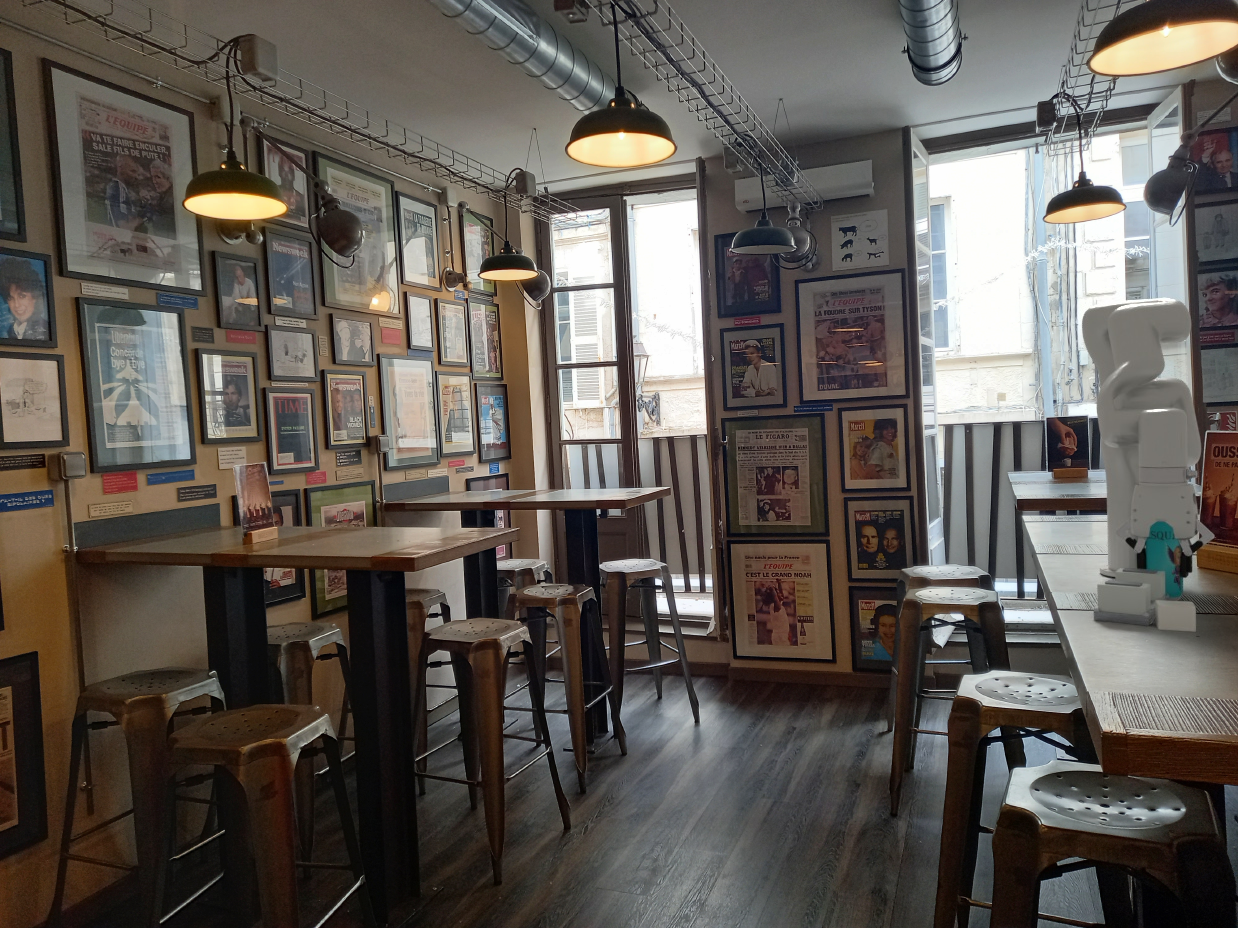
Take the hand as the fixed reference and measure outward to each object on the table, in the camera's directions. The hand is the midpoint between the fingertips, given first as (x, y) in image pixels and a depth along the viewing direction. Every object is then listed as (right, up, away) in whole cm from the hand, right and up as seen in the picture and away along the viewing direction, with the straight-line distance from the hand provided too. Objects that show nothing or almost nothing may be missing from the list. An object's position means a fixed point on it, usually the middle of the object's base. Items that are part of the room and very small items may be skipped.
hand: (1164, 573), depth 158 cm
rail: (-11, -6, -9) cm, 15 cm away
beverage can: (0, -5, 0) cm, 5 cm away
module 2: (-7, -4, -4) cm, 8 cm away
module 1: (-15, -4, -14) cm, 21 cm away
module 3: (-11, -6, -20) cm, 23 cm away
